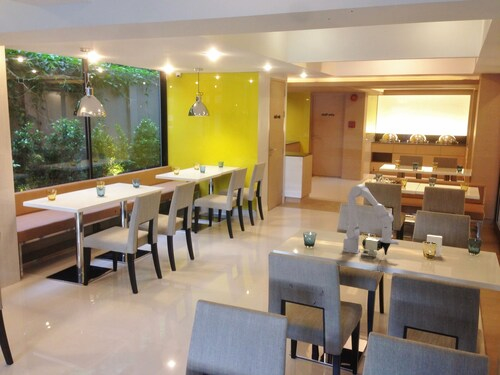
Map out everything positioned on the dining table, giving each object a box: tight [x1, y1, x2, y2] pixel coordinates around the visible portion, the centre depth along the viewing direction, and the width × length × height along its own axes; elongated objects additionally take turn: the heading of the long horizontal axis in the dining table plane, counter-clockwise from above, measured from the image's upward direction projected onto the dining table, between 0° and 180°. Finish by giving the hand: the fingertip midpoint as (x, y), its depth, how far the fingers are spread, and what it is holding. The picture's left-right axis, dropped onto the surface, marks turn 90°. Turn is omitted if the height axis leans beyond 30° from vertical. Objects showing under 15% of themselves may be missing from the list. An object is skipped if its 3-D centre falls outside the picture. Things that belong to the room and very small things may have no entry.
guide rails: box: [360, 249, 375, 259], centre depth 283 cm, size 8×11×2 cm
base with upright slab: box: [426, 234, 443, 257], centre depth 287 cm, size 9×9×12 cm
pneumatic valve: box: [362, 237, 384, 258], centre depth 282 cm, size 6×12×12 cm, turn 54°
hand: (385, 254), depth 279 cm, fingers closed
